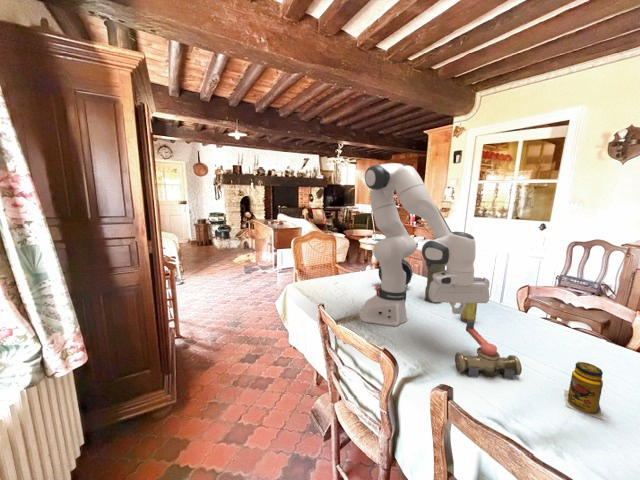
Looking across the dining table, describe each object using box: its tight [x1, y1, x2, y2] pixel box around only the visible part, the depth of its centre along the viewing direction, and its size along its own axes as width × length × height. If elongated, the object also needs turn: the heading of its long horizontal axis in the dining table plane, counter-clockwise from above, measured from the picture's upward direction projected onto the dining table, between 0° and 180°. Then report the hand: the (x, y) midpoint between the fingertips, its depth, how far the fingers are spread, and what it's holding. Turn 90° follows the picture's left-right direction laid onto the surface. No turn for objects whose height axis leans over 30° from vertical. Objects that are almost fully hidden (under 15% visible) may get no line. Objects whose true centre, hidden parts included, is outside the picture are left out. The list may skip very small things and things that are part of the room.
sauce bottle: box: [460, 303, 478, 323], centre depth 123 cm, size 7×6×20 cm
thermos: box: [424, 237, 447, 305], centre depth 145 cm, size 9×12×35 cm
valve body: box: [454, 346, 523, 380], centre depth 88 cm, size 18×6×7 cm, turn 85°
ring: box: [378, 258, 414, 286], centre depth 166 cm, size 11×20×20 cm, turn 89°
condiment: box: [564, 361, 604, 420], centre depth 74 cm, size 7×8×12 cm
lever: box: [465, 320, 498, 356], centre depth 93 cm, size 4×16×4 cm, turn 175°
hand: (457, 313), depth 99 cm, fingers closed
